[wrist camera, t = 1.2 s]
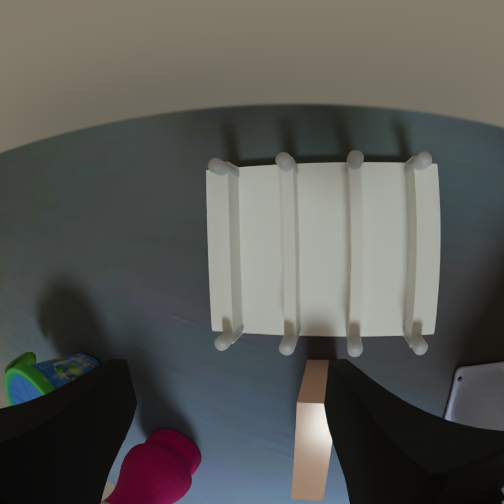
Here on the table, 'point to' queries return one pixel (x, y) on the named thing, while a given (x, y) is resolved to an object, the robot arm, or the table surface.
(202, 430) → the table surface
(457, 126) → the table surface
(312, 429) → the tile
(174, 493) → the pepper mill
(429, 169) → the dish rack
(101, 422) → the robot arm
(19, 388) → the snack cup
